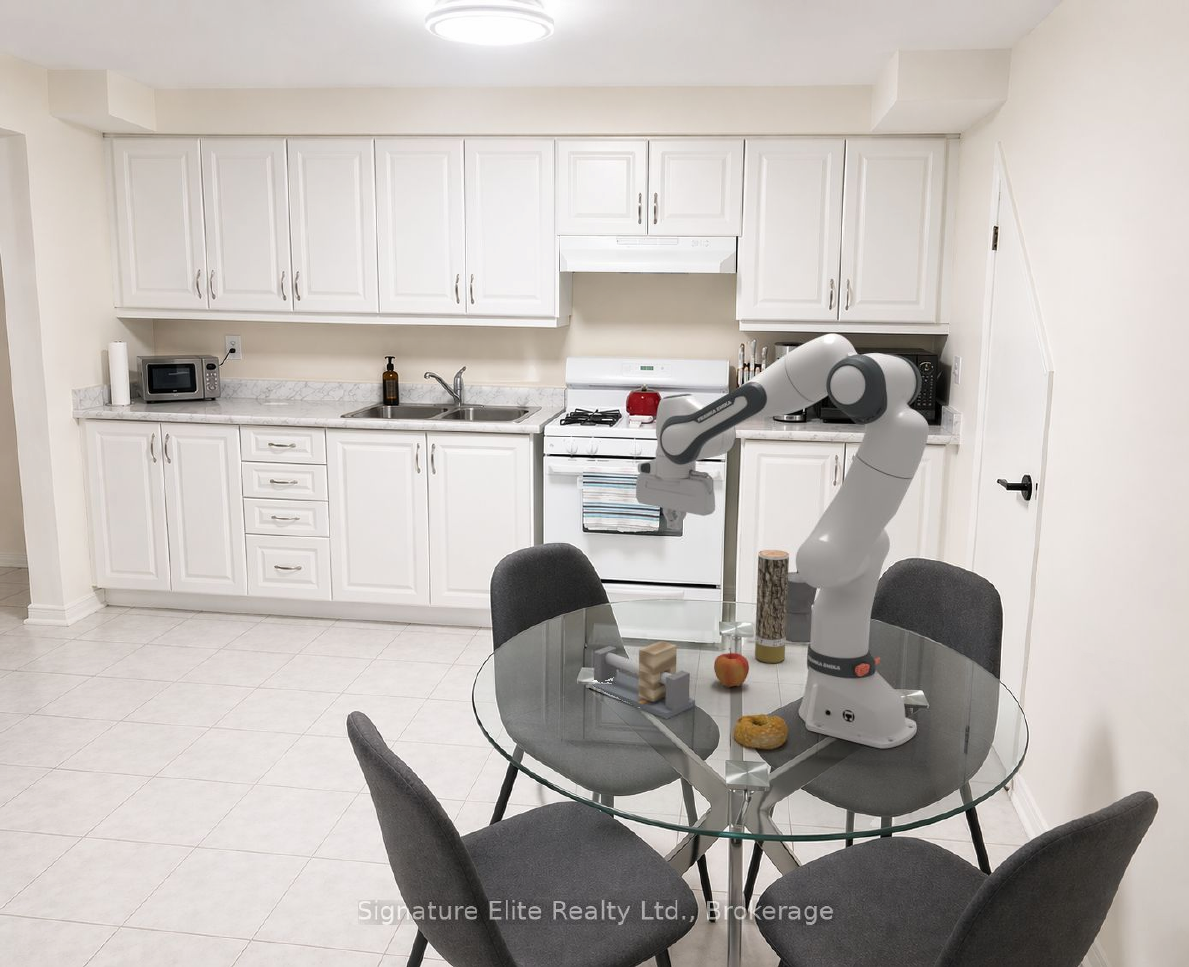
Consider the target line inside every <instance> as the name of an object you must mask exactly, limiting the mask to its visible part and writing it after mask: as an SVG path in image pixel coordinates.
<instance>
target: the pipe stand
mask: <svg viewBox="0 0 1189 967" xmlns="http://www.w3.org/2000/svg"><path fill="white" fill-rule="evenodd" d="M618 669H621V670H624V671H626V672H629V673H633V674H634V675H638V676H639V661H635V660H632V659H630V658H627V657H623V656H621V655H618V648H617V647H614V646H611V645H608V646H606V647H603V648H601V649H597V650H595V651H593V680H597V681H598V682H600V683H601V682H603V683H607V682H609V683H612V684H592V685H593V686H594V687H596V688H598V689H601V690H603V691H604V692H606V693H608V694H610V695H613V696H615V697H618V698H619V699H621V700H623V701H626V702H628V703H630V704H632V705H633V706H632V705H631V706H632V707H634V706H635V707H634V708H637V707H640V708H641V709H640V710H642V709H643V710H642V711H644V710H645V711H644V712H646V713H650V714H652V715H655V716H657V717H660V718H663V719H666V720H668V719H670V718H673V717H674V716H677V715H679V714H681V713H684V712H685V711H687V710H689V709H691V708H693V707H696V700H695V699H693V698H691V697H690V687H691V684H690V683H691V682H690V681H691V680H690V678H691V676H690V675H691V673H690V672H689V671H688V672H687V671H685V670H679V671H676V673H675V674H670V673H667V672H664V671H663V672H661V673H660V683H662V684H665V685H666V696H665V697H663V698H661V699H659V700H657V701H654V702H653V701H650V700H647V699H645V698H642V697H639V678H635V677H633V676H631V675H628V674H625V673H622V672H619V671H618ZM613 677H614V678H613ZM610 678H613V681H611V680H610V681H605V680H608V679H610Z"/></svg>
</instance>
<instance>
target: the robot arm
mask: <svg viewBox="0 0 1189 967" xmlns="http://www.w3.org/2000/svg"><path fill="white" fill-rule="evenodd" d="M921 389H922V376H921V373H920V370H919V368H918V367H917V366H916V364H914V362H913V361H911V360H910V359H908V358H906V357H904V356H901V355H897V354H892V353H891V354H889V353H888V354H886V353H885V354H884V353H879V352H873V353H871V352H870V353H864V354H859V353H857V351H856V349H855V347H854V345H853V344H852V343H851V342H850V340H848V339H847V338H846V337H845V336H843V335H841V334H837V333H827V334H824V335H821V336H818V337H816V338H814V339H811V340H809V341H807V342H806V343H803V344H801V345H799V346H797V347H796V348H794V349H792V350H791V351H789V352H788V353H785V355H783V356H781V357H780V358H778V359H777V360H776V361H774V362H773V363H772V364H770V365H769V366H767V367H766V368H764V369H763V370H762V371H761V372H759V373H758V374H756V375H755V376H753V377H751V378H750V379H749V380H747V381H746V382H745V383H743V384H741V385H739V387H737V388H735V389H733V390H732V391H730V392H728V393H727V394H725V395H722V396H721V397H720V398H717V400H714V401H713V402H711V403H708V404H707V405H705V404H702V403H701V402H700V401H699V400H698V399H697V397H695V395H694V394H690V393H684V394H683V393H681V394H675V395H668V396H664V397H662V399H661V400H659V403H658V406H657V411H656V420H655V421H656V423H655V436H656V440H657V445H656V446H657V447H656V450H655V458H653V459H651V460H648V461H642V462H639V463H638V464H637V472H638V473H639V474H638V475H637V477H636V485H635V499H636V500H637V502H638V503H639V504H643V505H646V506H647V505H648V506H650V507H651V506H652V507H657V508H661V509H662V514H663V516H664V518H665V521H666V528H667V529H671V530H675V531H680V530H682V527H683V521H684V520H685V518H686V516H687V514H693V515H696V516H697V515H698V516H703V517H705V516H710V515H712V514H713V513H714V512H715V511H716V497H715V496H716V495H715V488H714V486H715V485H714V482H715V481H714V479H713V477H712V476H711V475H710V474H709V473H708V472H706V471H703V472H702V471H698V470H696V466H697V465H696V462H697V461H701V460H705V459H711V458H714V457H720V456H722V455H725V454H727V453H728V452H730V450H732V448H733V447H734V445H735V443H736V442H735V441H736V438H737V437H736V436H737V433H736V426H739V425H740V424H743V423H745V422H749V421H753V420H758V419H763V418H765V419H766V418H771V417H777V416H783V415H788V414H793V413H795V412H798V411H801V410H804V409H806V408H809V407H810V406H812V405H814V404H816V403H818V402H820V401H822V399H824V398H826V397H827V396H828V398H829V399H830V401H831V402H832V404H833V405H834V406H836V408H837V409H839V410H840V411H841V412H842V413H844V414H846V415H847V416H848V418H850V419H851V421H852V422H854V423H855V424H856V425H863V426H864V428H865V431H864V434H863V437H862V440H861V443H860V444H859V447H858V448H857V451H856V452H855V456H854V457H853V460H852V462H851V464H850V465H849V468H848V470H847V473H846V475H845V477H844V479H843V481H842V484H841V485H840V488H839V490H838V491H837V493H836V495H835V496H834V498H833V499H832V501H831V502H830V503H829V505H828V506H827V508H826V509H825V511H824V512H823V514H822V515H821V517H820V518H819V520H818V522H817V524H816V525H815V527H814V528H813V529H812V531H811V532H810V533H809V536H807V538H806V539H805V540H804V542H803V543H802V544H801V545H800V546H799V548H798V549H797V552H796V554H795V567H796V572H797V571H798V573H799V575H800V576H801V578H802V579H803V580H804V581H805V582H806V583H807V584H809V585H810V586H812V587H815V588H817V589H819V591H818V595H817V597H815V600H814V604H813V605H812V617H811V638H810V641H809V642H810V643H809V644H808V646H807V656H806V668H807V677H806V684H805V688H804V693H803V697H802V700H801V702H800V703H801V704H800V706H799V708H798V714H799V717H800V718H801V719H802V721H804V724H805V728H806V730H807V731H810V732H814V733H818V734H821V735H822V734H823V735H826V736H829V737H834V738H838V739H842V740H845V741H849V742H853V743H857V744H862V745H865V746H869V747H873V748H878V749H890V748H891V749H892V748H895V747H897V746H901V745H903V744H905V743H906V742H907V741H910V740H911V739H912V738H913V737H914V736H915V735H916V734H917V730H918V729H917V722H916V721H915V720H913V719H911V718H908V717H906V709H905V703H904V700H903V697H902V696H901V695H900V693H898V692H897V691H896V690H895V688H893V687H892V686H891V685H890V684H889V683H888V682H887V681H886V679H884V677H882V676H881V675H880V674H879V673H878V671H877V669H876V666H877V665H878V664H879V663H881V661H880V660H881V656H878V657H877V658H874V657H873V656H872V653H871V651H870V649H869V646H870V645H869V643H870V629H871V615H872V609H873V604H874V599H875V596H876V592H877V589H878V585H879V581H880V576H881V572H882V569H883V568H882V567H883V565H884V562H885V560H886V558H887V557H888V555H889V551H890V548H891V546H890V544H891V543H890V537H889V534H888V532H887V530H886V529H885V528H886V526H887V525H888V524H889V523H890V521H891V520H892V519H893V518H894V517H895V515H896V514H897V512H898V510H899V508H900V506H901V504H902V503H903V500H904V498H905V496H906V493H907V492H908V489H909V487H910V486H911V484H912V482H913V479H914V478H915V475H916V473H917V470H918V468H919V466H920V464H921V461H922V458H923V456H924V452H925V449H926V446H927V442H928V437H929V435H930V434H929V433H930V426H929V424H928V420H926V419H925V417H924V416H923V415H921V413H919V412H918V411H917V410H915V409H913V408H911V406H910V405H911V404H912V403H913V402H914V401H916V399H917V397H919V395H920V391H921ZM673 512H675V516H676V519H675V518H674V516H673Z"/></svg>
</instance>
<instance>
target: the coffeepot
mask: <svg viewBox="0 0 1189 967" xmlns="http://www.w3.org/2000/svg"><path fill="white" fill-rule="evenodd" d="M817 589H818V588H815V587H812V586H810V585H809V584H807V583H806V582H805V581H804V580H803V579H802V578H801V576H800V575H799V573H798V571H797V570H796V572H795V571H788V592H787V617H786V641H789V642H795V643H805V642H806V643H807V642H810V638H811V617H812V607H813V604H814V602H815V600H816V594H817V591H818V590H817Z"/></svg>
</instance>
